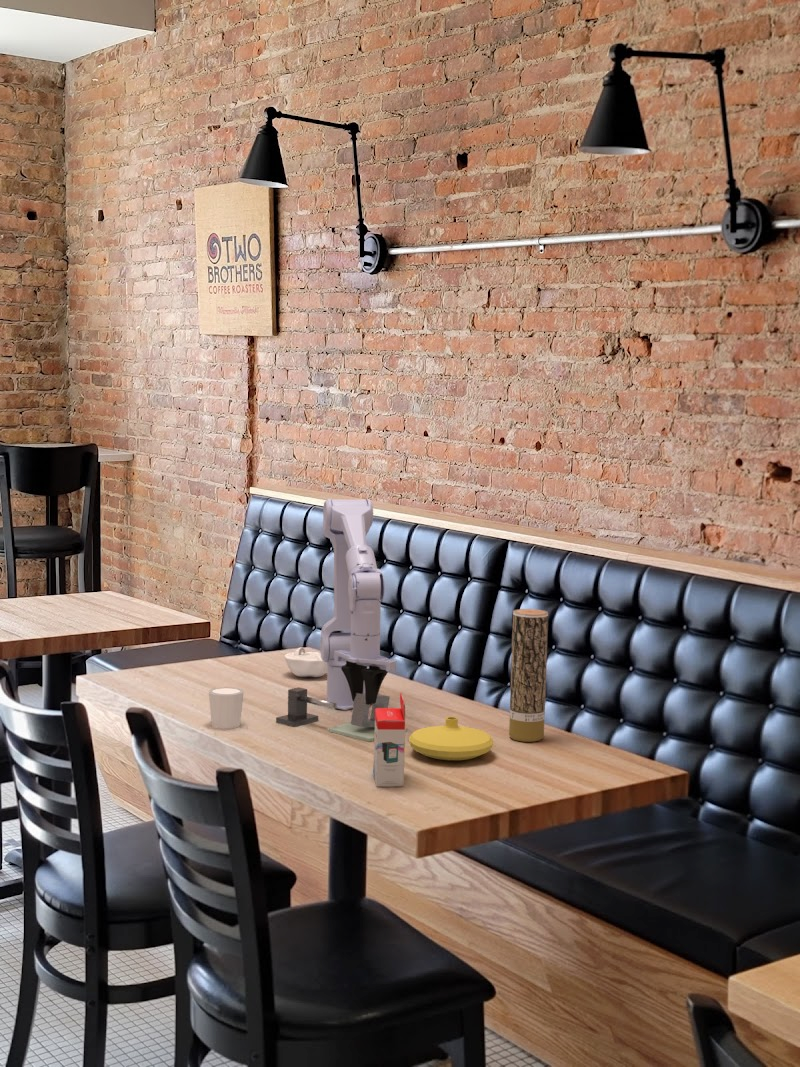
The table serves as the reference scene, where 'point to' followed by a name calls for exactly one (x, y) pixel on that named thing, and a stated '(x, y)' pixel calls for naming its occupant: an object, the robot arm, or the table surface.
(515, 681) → the paper tube
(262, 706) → the table surface
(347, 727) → the coaster
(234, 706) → the white cup
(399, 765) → the ink box
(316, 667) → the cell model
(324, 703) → the post
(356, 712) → the grey hollow frame block
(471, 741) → the vase
